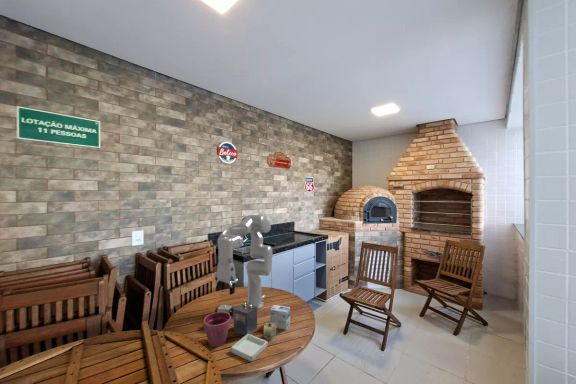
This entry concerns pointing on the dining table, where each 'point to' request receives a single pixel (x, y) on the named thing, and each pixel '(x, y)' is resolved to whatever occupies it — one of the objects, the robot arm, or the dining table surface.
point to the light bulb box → (280, 316)
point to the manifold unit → (245, 319)
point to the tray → (249, 347)
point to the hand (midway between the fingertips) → (225, 291)
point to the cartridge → (270, 330)
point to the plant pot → (217, 328)
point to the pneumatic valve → (226, 309)
